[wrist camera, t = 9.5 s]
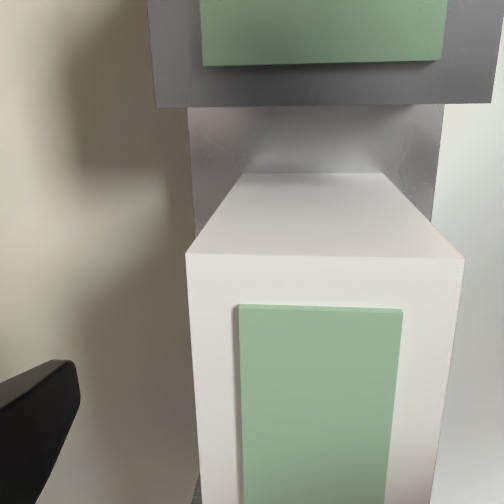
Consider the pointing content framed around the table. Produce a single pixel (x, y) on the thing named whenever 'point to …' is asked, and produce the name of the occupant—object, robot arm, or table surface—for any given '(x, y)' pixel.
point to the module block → (320, 341)
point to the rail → (313, 148)
